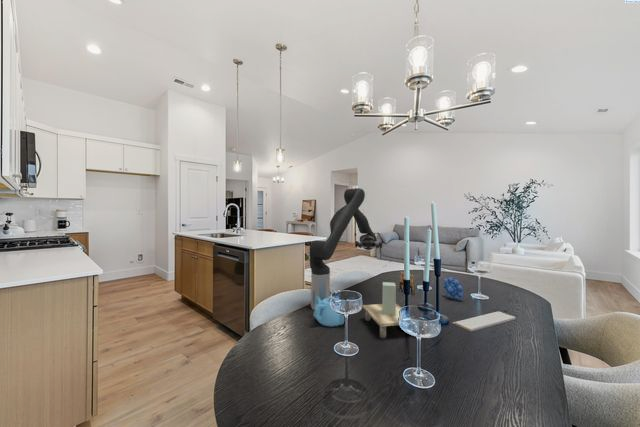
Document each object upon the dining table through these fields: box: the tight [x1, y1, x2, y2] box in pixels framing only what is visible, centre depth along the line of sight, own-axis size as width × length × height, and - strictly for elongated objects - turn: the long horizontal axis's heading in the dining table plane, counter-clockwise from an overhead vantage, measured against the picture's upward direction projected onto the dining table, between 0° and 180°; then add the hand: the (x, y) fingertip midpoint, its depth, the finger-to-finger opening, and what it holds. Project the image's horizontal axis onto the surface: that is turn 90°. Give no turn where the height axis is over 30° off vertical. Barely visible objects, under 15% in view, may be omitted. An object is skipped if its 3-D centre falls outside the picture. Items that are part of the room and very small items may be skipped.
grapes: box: [442, 276, 465, 301], centre depth 147 cm, size 12×7×12 cm, turn 34°
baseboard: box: [452, 309, 517, 332], centre depth 119 cm, size 30×3×10 cm
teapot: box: [313, 295, 345, 328], centre depth 118 cm, size 15×15×11 cm
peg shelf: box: [361, 303, 402, 339], centre depth 113 cm, size 16×20×6 cm
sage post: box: [381, 281, 397, 315], centre depth 112 cm, size 5×5×12 cm
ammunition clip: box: [398, 270, 416, 295], centre depth 159 cm, size 11×2×12 cm, turn 26°
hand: (368, 246), depth 139 cm, fingers open, 8 cm apart
